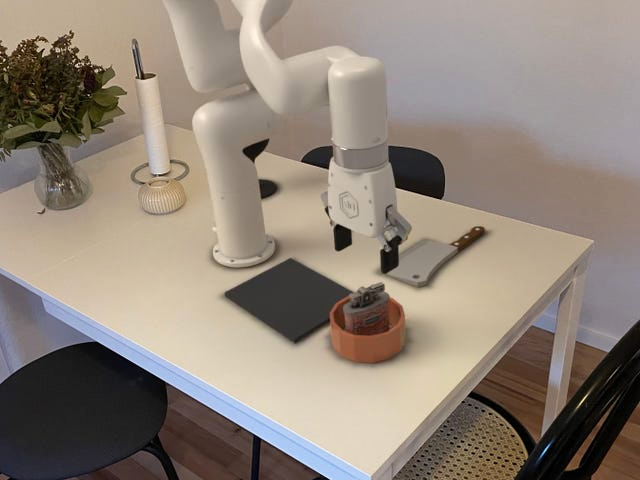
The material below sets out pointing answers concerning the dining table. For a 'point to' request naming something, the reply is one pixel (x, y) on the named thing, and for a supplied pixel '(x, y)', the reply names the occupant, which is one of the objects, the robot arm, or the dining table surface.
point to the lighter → (368, 311)
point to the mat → (289, 298)
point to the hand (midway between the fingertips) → (366, 258)
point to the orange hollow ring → (368, 346)
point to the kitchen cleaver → (429, 258)
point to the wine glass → (252, 152)
